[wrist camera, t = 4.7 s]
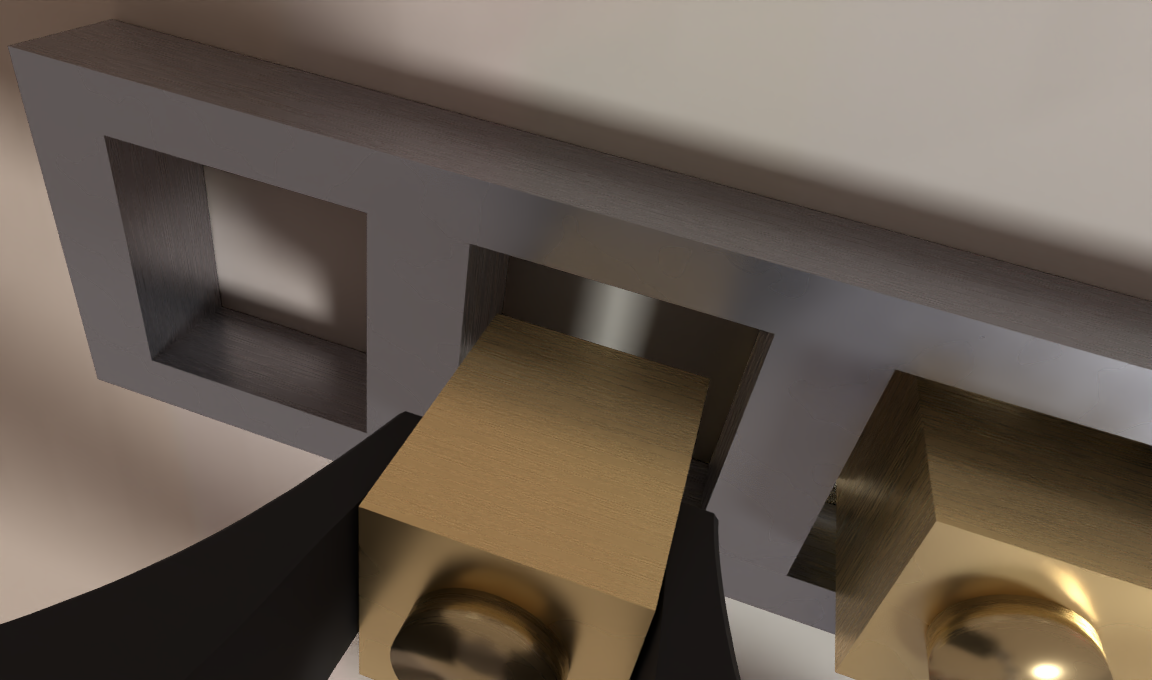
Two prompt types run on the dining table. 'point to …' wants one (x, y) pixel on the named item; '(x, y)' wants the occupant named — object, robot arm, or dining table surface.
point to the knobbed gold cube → (527, 514)
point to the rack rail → (544, 236)
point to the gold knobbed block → (991, 544)
